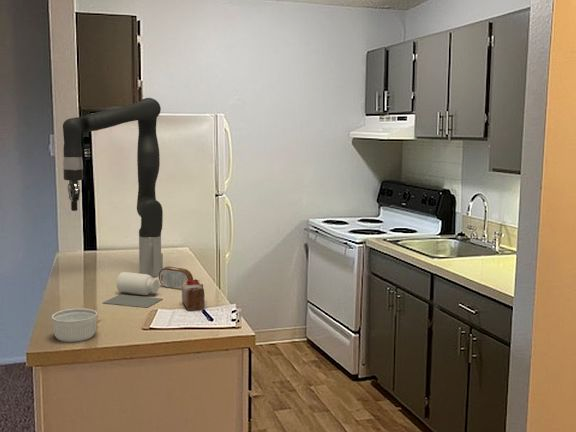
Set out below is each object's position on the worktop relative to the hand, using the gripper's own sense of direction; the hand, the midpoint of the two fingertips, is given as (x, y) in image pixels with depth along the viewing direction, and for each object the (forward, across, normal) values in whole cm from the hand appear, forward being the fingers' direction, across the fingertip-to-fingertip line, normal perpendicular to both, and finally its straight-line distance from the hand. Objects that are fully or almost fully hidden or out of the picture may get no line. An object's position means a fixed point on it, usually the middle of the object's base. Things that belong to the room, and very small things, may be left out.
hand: (74, 210), depth 259 cm
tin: (+29, +31, +32) cm, 53 cm away
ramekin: (+29, +73, -15) cm, 80 cm away
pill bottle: (+25, +28, +11) cm, 39 cm away
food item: (+29, +58, +29) cm, 71 cm away
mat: (+29, +43, +12) cm, 53 cm away
